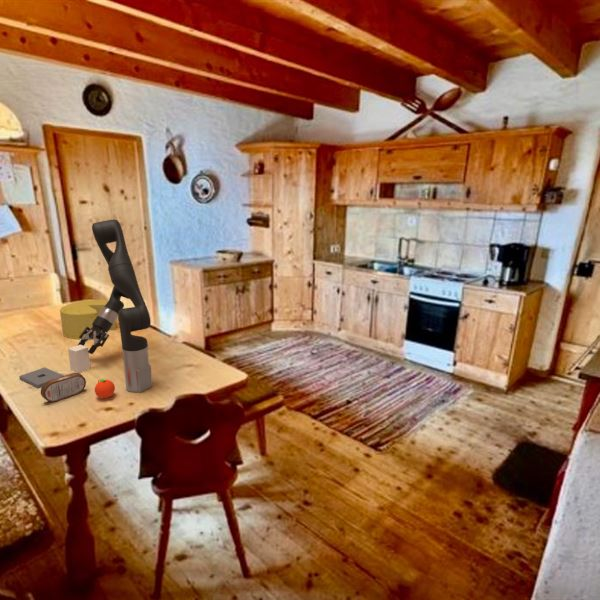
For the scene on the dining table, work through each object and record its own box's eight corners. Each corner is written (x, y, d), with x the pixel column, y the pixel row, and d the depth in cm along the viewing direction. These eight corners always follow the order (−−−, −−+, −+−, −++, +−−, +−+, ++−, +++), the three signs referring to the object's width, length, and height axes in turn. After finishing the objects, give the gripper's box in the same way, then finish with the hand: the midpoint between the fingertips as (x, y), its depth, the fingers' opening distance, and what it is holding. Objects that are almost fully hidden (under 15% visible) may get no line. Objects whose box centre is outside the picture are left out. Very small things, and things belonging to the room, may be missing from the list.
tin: (84, 388, 155) (82, 369, 153) (88, 391, 153) (85, 371, 151) (41, 403, 144) (38, 382, 142) (45, 406, 142) (41, 385, 140)
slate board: (64, 378, 162) (63, 375, 162) (38, 388, 154) (38, 385, 153) (45, 370, 169) (44, 367, 168) (19, 379, 160) (19, 376, 160)
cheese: (118, 335, 212) (116, 308, 208) (62, 342, 200) (58, 314, 196) (114, 321, 234) (111, 297, 230) (63, 327, 221) (60, 301, 217)
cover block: (90, 368, 172) (88, 347, 170) (78, 373, 168) (75, 351, 165) (83, 365, 175) (80, 344, 172) (70, 369, 170) (67, 348, 168)
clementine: (90, 397, 149) (88, 380, 147) (107, 390, 154) (105, 373, 152) (102, 403, 145) (100, 386, 143) (119, 396, 150) (117, 379, 148)
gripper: (89, 312, 178) (67, 343, 172) (109, 318, 172) (87, 351, 165) (101, 320, 184) (80, 351, 178) (121, 326, 177) (100, 358, 171)
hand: (84, 351), depth 171 cm, fingers open, 8 cm apart
